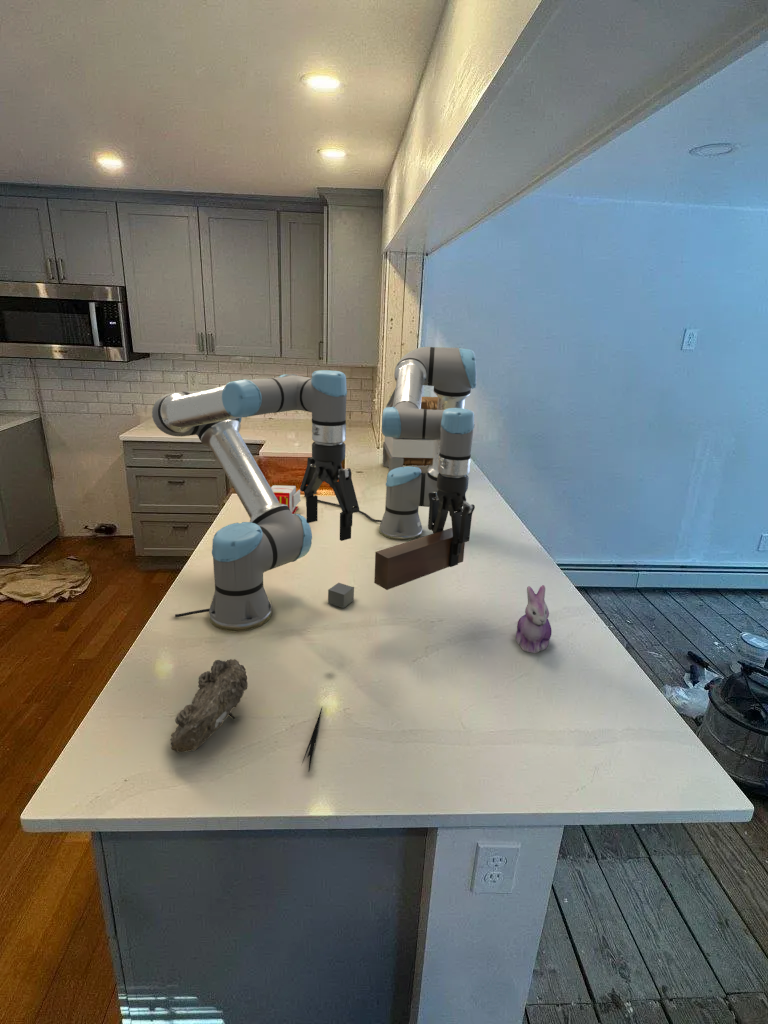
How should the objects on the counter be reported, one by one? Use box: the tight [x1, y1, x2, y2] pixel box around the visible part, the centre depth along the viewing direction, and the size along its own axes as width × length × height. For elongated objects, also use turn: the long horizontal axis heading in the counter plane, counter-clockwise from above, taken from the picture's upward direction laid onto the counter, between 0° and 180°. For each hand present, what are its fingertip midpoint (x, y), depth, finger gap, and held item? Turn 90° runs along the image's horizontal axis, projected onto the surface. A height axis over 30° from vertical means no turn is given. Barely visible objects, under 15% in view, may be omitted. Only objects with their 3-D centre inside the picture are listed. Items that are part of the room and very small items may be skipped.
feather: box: [301, 673, 332, 771], centre depth 108 cm, size 2×28×2 cm
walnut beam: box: [373, 527, 466, 591], centre depth 138 cm, size 4×26×8 cm, turn 131°
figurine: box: [515, 584, 552, 654], centre depth 134 cm, size 9×10×15 cm
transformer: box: [381, 389, 438, 473], centre depth 268 cm, size 34×33×41 cm
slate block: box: [327, 582, 355, 609], centre depth 152 cm, size 5×5×4 cm
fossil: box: [170, 658, 249, 753], centre depth 106 cm, size 22×10×15 cm
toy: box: [270, 484, 301, 514], centre depth 208 cm, size 12×13×30 cm
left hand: (328, 530), depth 134 cm, fingers open, 13 cm apart
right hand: (445, 561), depth 145 cm, fingers closed on walnut beam, 4 cm apart
